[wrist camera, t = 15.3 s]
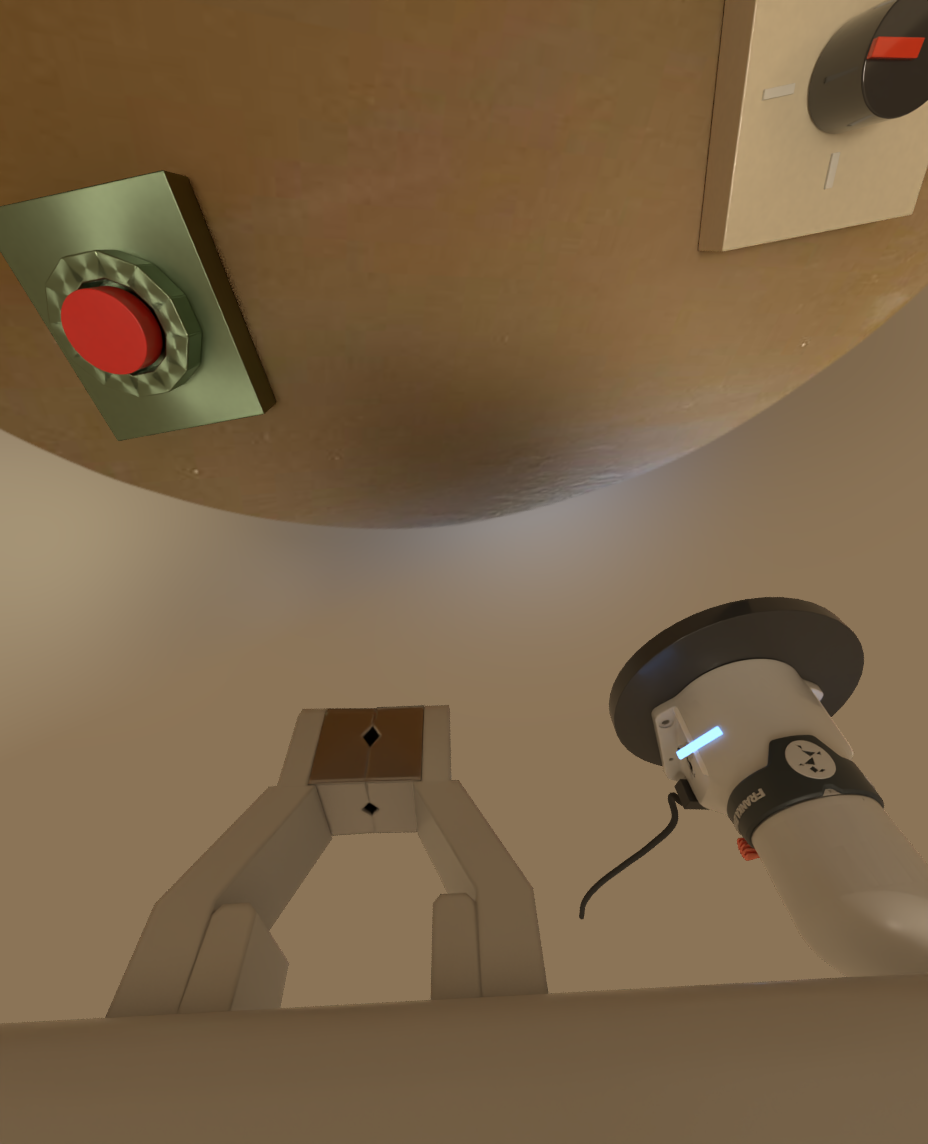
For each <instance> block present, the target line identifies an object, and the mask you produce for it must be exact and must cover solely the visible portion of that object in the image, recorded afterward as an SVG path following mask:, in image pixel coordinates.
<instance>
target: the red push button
mask: <svg viewBox="0 0 928 1144" xmlns="http://www.w3.org/2000/svg"><path fill="white" fill-rule="evenodd" d="M61 321H62V326H63V329H64V332H65V334H66V336H67V338H68V340H69V342H70V343H71V345H72V346H73V347H74V349H75V350H76V351H77V352H78V353H79V354H80V355H81V356H82V357H83V358H84V359H85V360H86V361H88V362H89V363H90V364H92V365H93V366H95V367H97V368H99V369H101V370H103V371H106V372H109V373H112V374H119V375H124V374H130V373H133V372H135V371H138V370H140V369H143V368H145V367H147V366H150V365H152V364H153V363H154V362H155V361H156V360H157V359H158V358H159V356H160V354H161V351H162V345H163V340H162V333H161V330H160V327H159V324H158V322H157V320H156V318H155V317H154V315H153V314H152V312H151V311H150V310H149V308H148V307H147V306H146V305H145V304H144V303H143V302H142V301H141V300H139V299H138V298H137V297H135V296H134V295H133V294H131V293H129V292H127V291H125V290H123V289H120V288H117V287H113V286H100V287H92V288H84V289H79V290H76V291H74V292H72V293H70V294H69V295H68V296H67V297H66V299H65V300H64V302H63V305H62V308H61Z"/></svg>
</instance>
